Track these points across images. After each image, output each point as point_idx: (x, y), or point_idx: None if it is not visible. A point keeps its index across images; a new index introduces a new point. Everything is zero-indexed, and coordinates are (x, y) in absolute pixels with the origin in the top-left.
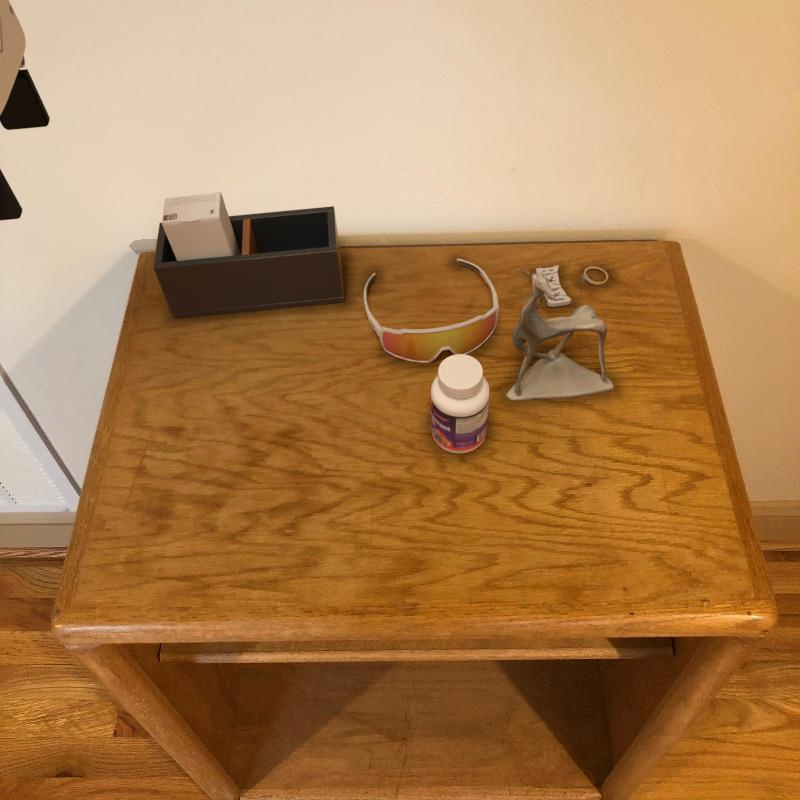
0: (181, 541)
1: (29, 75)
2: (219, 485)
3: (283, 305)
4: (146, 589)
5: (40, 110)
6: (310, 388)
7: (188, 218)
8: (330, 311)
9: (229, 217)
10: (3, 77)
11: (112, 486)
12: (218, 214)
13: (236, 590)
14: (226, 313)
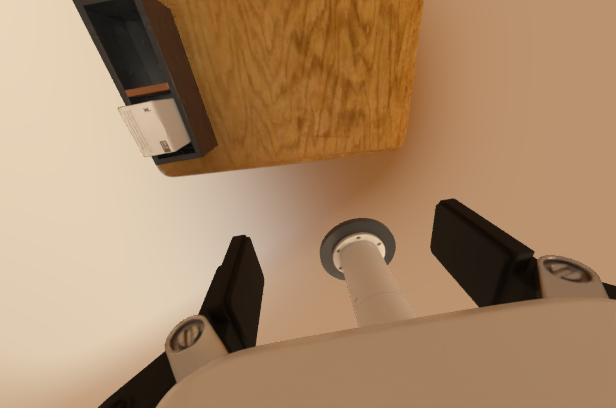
0: (369, 100)
1: (212, 297)
2: (336, 85)
3: (188, 65)
4: (393, 112)
5: (242, 251)
6: (259, 30)
7: (161, 130)
8: (183, 22)
9: None
10: (516, 369)
11: (335, 147)
12: (147, 102)
13: (400, 59)
14: (205, 110)
